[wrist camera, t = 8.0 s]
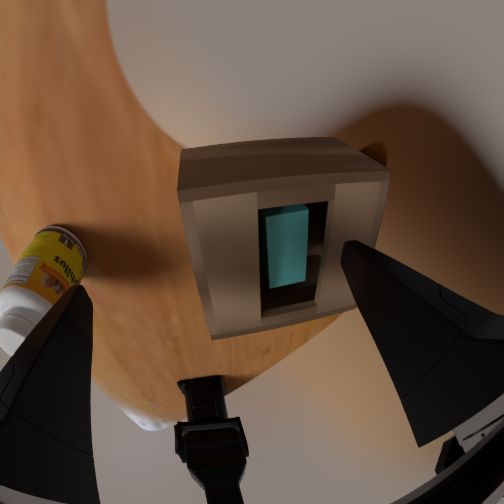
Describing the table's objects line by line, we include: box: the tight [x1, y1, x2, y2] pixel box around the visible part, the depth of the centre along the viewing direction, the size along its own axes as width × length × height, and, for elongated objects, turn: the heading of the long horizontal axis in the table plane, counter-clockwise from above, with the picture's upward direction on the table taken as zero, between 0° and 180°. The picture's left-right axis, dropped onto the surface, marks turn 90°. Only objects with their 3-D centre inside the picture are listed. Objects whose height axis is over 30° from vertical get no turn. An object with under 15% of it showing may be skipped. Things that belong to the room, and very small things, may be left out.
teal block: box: [258, 204, 309, 288], centre depth 18 cm, size 6×2×5 cm, turn 4°
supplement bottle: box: [0, 226, 87, 357], centre depth 15 cm, size 6×6×10 cm
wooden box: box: [177, 137, 392, 340], centre depth 18 cm, size 11×11×7 cm
